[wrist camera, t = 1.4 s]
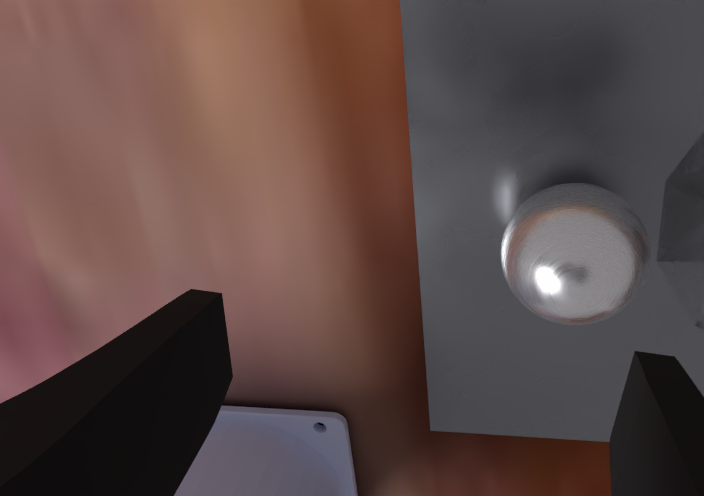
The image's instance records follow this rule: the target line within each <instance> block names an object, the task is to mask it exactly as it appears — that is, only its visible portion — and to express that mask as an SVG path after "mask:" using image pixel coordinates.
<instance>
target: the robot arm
mask: <svg viewBox="0 0 704 496" xmlns="http://www.w3.org/2000/svg"><path fill="white" fill-rule="evenodd" d="M232 378H233V374H232V367H231V359H230V352H229V344H228V336H227V329H226V321H225V314H224V306H223V298H222V293H216V292H209V291H202V290H195V289H191V290H189V291H187V292H186V293H184V294H182V295H181V296H179V297H177V298H176V299H174V300H173V301H171V302H170V303H168V304H167V305H165V306H164V307H162V308H160V309H159V310H157V311H156V312H154V313H153V314H151V315H150V316H148V317H147V318H145V319H144V320H142V321H141V322H139V323H138V324H136V325H135V326H133V327H132V328H130V329H129V330H127V331H126V332H124V333H123V334H121V335H119V336H118V337H116V338H115V339H113V340H112V341H110V342H109V343H107V344H106V345H104V346H102V347H101V348H99V349H98V350H96V351H94V352H93V353H91V354H89V355H88V356H86V357H84V358H83V359H81V360H79V361H77V362H76V363H74V364H72V365H71V366H69V367H67V368H66V369H64V370H62V371H61V372H59V373H57V374H56V375H54V376H52V377H50V378H49V379H47V380H45V381H43V382H42V383H40V384H38V385H36V386H34V387H32V388H30V389H29V390H27V391H25V392H23V393H21V394H19V395H17V396H15V397H13V398H11V399H9V400H7V401H5V402H3V403H1V404H0V496H358V493H357V487H356V480H355V473H354V466H353V459H352V452H351V445H350V438H349V431H348V424H347V421H346V419H345V418H344V417H343V416H342V415H341V414H339V413H335V412H323V411H306V410H289V409H273V408H256V407H239V406H222V404H223V401H224V399H225V396H226V393H227V391H228V388H229V385H230V383H231V380H232ZM318 422H320V423H323V424H324V425H325V426H322V425H319V424H318ZM610 467H611V490H612V496H704V396H703V395H702V394H701V392H700V391H699V389H698V388H697V386H696V385H695V384H694V382H693V381H692V379H691V378H690V377H689V375H688V374H687V372H686V371H685V369H684V368H683V367H682V365H681V364H680V363H679V361H678V360H677V359H676V357H675V356H668V355H661V354H654V353H647V352H639V351H635V352H634V355H633V359H632V362H631V366H630V369H629V373H628V376H627V380H626V383H625V387H624V390H623V394H622V397H621V401H620V404H619V408H618V411H617V415H616V418H615V422H614V426H613V429H612V433H611V436H610Z"/></svg>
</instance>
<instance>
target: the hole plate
mask: <svg viewBox="0 0 704 496" xmlns="http://www.w3.org/2000/svg"><path fill="white" fill-rule="evenodd" d="M400 7H401V21H402V36H403V50H404V64H405V78H406V92H407V107H408V121H409V135H410V149H411V163H412V177H413V192H414V206H415V220H416V234H417V248H418V263H419V277H420V291H421V305H422V319H423V333H424V348H425V362H426V376H427V390H428V404H429V418H430V431H444V432H460V433H475V434H491V435H507V436H522V437H538V438H554V439H569V440H585V441H601V442H610V436H611V433H612V429H613V426H614V422H615V418H616V415H617V411H618V408H619V404H620V401H621V397H622V394H623V390H624V387H625V383H626V380H627V376H628V373H629V369H630V366H631V362H632V359H633V355H634V352H635V351H639V352H647V353H654V354H661V355H668V356H675V357H676V359H677V360H678V361H679V363H680V364H681V365H682V367H683V368H684V369H685V371H686V372H687V374H688V375H689V377H690V378H691V379H692V381H693V382H694V384H695V385H696V386H697V388H698V389H699V391H700V392H701V394H702V395H703V396H704V0H400ZM565 183H585V184H591V185H595V186H599V187H602V188H604V189H607V190H609V191H611V192H613V193H615V194H616V195H618V196H620V197H621V198H622V199H623V200H625V201H626V202H627V203H628V204H629V205H630V206H631V207H632V208H633V209H634V210H635V211H636V213H637V214H638V216H639V217H640V219H641V220H642V222H643V224H644V226H645V228H646V231H647V234H648V238H649V242H650V250H651V253H650V266H649V271H648V274H647V277H646V280H645V282H644V284H643V286H642V288H641V290H640V292H639V293H638V294H637V296H636V297H635V298H634V299H633V300H632V302H631V303H630V304H629V305H628V306H627V307H625V308H624V309H623V310H622V311H620V312H619V313H617V314H615V315H614V316H612V317H610V318H608V319H605V320H602V321H600V322H596V323H592V324H586V325H565V324H560V323H555V322H552V321H549V320H546V319H544V318H541V317H540V316H538V315H536V314H534V313H533V312H532V311H530V310H529V309H527V308H526V307H525V306H524V305H523V304H522V303H521V302H520V301H519V300H518V299H517V297H516V296H515V295H514V294H513V292H512V291H511V289H510V287H509V286H508V284H507V281H506V279H505V276H504V274H503V270H502V265H501V243H502V239H503V234H504V231H505V229H506V226H507V224H508V222H509V221H510V219H511V217H512V215H513V214H514V213H515V211H516V210H517V209H518V208H519V207H520V206H521V205H522V204H523V203H524V202H525V201H526V200H528V199H529V198H530V197H531V196H533V195H534V194H536V193H538V192H540V191H542V190H544V189H546V188H549V187H552V186H555V185H560V184H565Z"/></svg>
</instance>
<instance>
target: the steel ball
mask: <svg viewBox="0 0 704 496" xmlns="http://www.w3.org/2000/svg"><path fill="white" fill-rule="evenodd" d="M650 253H651V250H650V242H649V238H648V234H647V231H646V228H645V226H644V224H643V222H642V220H641V219H640V217H639V216H638V214H637V213H636V211H635V210H634V209H633V208H632V207H631V206H630V205H629V204H628V203H627V202H626V201H625V200H623V199H622V198H621V197H620V196H618V195H616V194H615V193H613V192H611V191H609V190H607V189H604V188H602V187H599V186H595V185H591V184H585V183H565V184H560V185H555V186H552V187H549V188H546V189H544V190H542V191H540V192H538V193H536V194H534V195H533V196H531V197H530V198H529V199H528V200H526V201H525V202H524V203H523V204H522V205H521V206H520V207H519V208H518V209H517V210H516V211H515V213H514V214H513V215H512V217H511V219H510V221H509V222H508V224H507V226H506V229H505V231H504V234H503V239H502V243H501V265H502V270H503V274H504V276H505V279H506V281H507V284H508V286H509V287H510V289H511V291H512V292H513V294H514V295H515V296H516V297H517V299H518V300H519V301H520V302H521V303H522V304H523V305H524V306H525V307H526V308H527V309H529V310H530V311H532V312H533V313H534V314H536V315H538V316H540V317H541V318H544V319H546V320H549V321H552V322H555V323H560V324H565V325H586V324H592V323H596V322H600V321H602V320H605V319H608V318H610V317H612V316H614V315H615V314H617V313H619V312H620V311H622V310H623V309H624V308H625V307H627V306H628V305H629V304H630V303H631V302H632V300H633V299H634V298H635V297H636V296H637V294H638V293H639V292H640V290H641V288H642V286H643V284H644V282H645V280H646V277H647V274H648V271H649V266H650Z"/></svg>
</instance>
